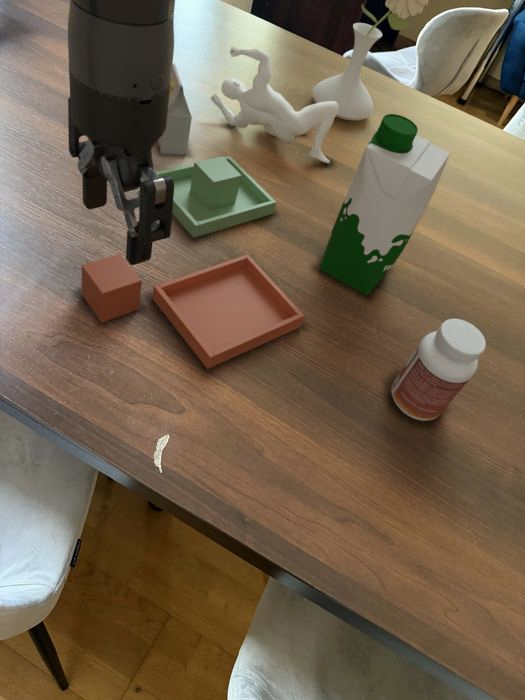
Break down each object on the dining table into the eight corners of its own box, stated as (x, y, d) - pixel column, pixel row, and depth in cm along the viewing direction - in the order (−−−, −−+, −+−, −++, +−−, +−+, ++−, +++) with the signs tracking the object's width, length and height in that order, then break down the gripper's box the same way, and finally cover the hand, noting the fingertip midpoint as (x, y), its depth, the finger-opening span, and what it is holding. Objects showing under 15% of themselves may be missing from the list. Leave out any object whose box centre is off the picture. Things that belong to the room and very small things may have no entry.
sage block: (208, 210, 76) (213, 182, 73) (189, 190, 78) (194, 162, 74) (235, 203, 78) (242, 175, 75) (216, 184, 80) (222, 155, 77)
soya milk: (336, 237, 80) (394, 100, 65) (394, 268, 78) (467, 136, 63) (310, 269, 74) (366, 128, 59) (371, 304, 73) (445, 168, 58)
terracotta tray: (207, 369, 60) (210, 357, 59) (152, 298, 65) (153, 285, 63) (300, 327, 67) (305, 315, 66) (244, 265, 72) (248, 253, 70)
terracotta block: (101, 323, 61) (102, 293, 58) (81, 294, 63) (81, 264, 59) (139, 309, 63) (142, 280, 60) (118, 282, 65) (120, 253, 62)
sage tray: (193, 238, 73) (195, 225, 71) (147, 186, 77) (149, 173, 76) (273, 213, 80) (276, 202, 78) (227, 167, 84) (229, 155, 83)
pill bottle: (447, 425, 63) (501, 364, 55) (395, 420, 62) (442, 357, 53) (434, 379, 67) (483, 316, 59) (385, 373, 66) (428, 308, 57)
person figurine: (340, 65, 89) (236, 32, 81) (361, 126, 84) (253, 98, 76) (298, 127, 100) (202, 104, 91) (316, 185, 95) (216, 166, 86)
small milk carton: (178, 128, 88) (186, 63, 80) (186, 154, 84) (195, 88, 76) (153, 126, 86) (160, 60, 79) (161, 153, 82) (168, 86, 75)
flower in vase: (305, 114, 99) (356, -51, 81) (313, 85, 107) (361, -72, 88) (377, 137, 100) (443, -21, 81) (379, 107, 108) (441, -44, 89)
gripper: (31, 25, 44) (45, 197, 57) (122, 126, 39) (116, 293, 51) (119, 19, 48) (115, 181, 60) (214, 110, 42) (188, 269, 55)
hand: (116, 232), depth 56 cm, fingers open, 8 cm apart
